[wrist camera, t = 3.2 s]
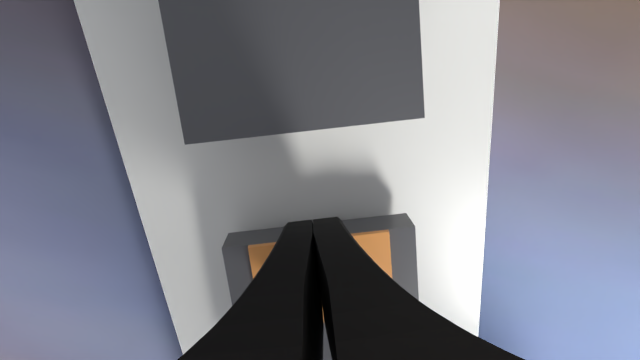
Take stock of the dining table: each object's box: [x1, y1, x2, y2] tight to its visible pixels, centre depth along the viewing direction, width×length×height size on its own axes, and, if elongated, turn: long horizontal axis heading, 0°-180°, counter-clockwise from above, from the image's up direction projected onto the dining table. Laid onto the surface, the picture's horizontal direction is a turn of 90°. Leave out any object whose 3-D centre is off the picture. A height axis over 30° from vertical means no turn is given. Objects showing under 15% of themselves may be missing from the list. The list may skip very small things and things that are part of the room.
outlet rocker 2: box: [222, 213, 419, 360], centre depth 12 cm, size 6×5×1 cm
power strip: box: [74, 0, 500, 354], centre depth 15 cm, size 31×10×3 cm, turn 6°
